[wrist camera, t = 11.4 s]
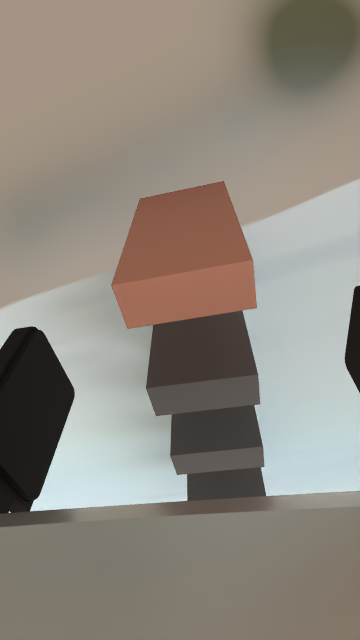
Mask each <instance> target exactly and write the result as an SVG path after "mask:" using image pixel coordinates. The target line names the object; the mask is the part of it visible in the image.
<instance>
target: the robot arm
mask: <svg viewBox="0 0 360 640" xmlns="http://www.w3.org/2000/svg"><path fill="white" fill-rule="evenodd" d="M345 363H346V367H347V369H348V371H349V373H350V375H351V377H352V379H353V381H354V383H355V385H356V387H357V388H358V390H359V392H360V286H356V287H355V289H354V295H353V302H352V309H351V316H350V324H349V331H348V338H347V345H346V352H345ZM74 395H75V393H74V388H73V386H72V384H71V382H70V380H69V378H68V377H67V375H66V373H65V371H64V369H63V367H62V366H61V364H60V362H59V360H58V358H57V356H56V354H55V353H54V351H53V349H52V347H51V345H50V343H49V342H48V340H47V338H46V336H45V334H44V333H43V331H41V330H38V329H37V328H36V327H33V326H32V327H25V328H18V329H15V330H14V331H13V332H12V333H11V334H10V336H9V337H8V339H7V340H6V342H5V343H4V345H3V346H2V348H1V349H0V640H360V491H347V492H330V493H313V494H296V495H279V496H262V497H245V498H228V499H212V500H197V501H181V502H165V503H149V504H134V505H118V506H104V507H89V508H75V509H60V510H46V511H31V512H30V509H31V506H32V504H33V501H34V500H35V499H37V498H38V497H39V495H40V493H41V490H42V487H43V484H44V481H45V479H46V476H47V473H48V470H49V467H50V465H51V462H52V459H53V456H54V453H55V451H56V448H57V445H58V442H59V439H60V437H61V434H62V431H63V428H64V425H65V423H66V420H67V417H68V414H69V411H70V409H71V406H72V403H73V400H74ZM9 511H10V512H11V513H8V512H9Z"/></svg>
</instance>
